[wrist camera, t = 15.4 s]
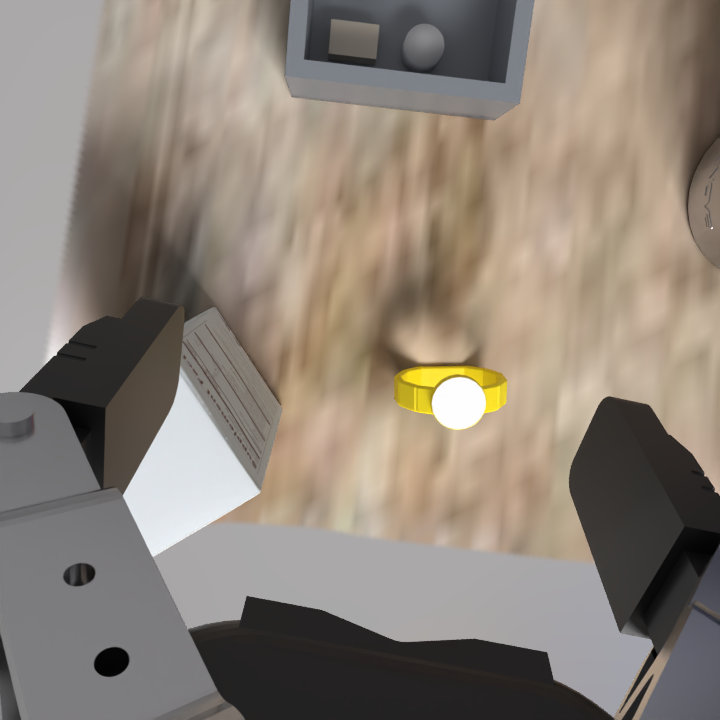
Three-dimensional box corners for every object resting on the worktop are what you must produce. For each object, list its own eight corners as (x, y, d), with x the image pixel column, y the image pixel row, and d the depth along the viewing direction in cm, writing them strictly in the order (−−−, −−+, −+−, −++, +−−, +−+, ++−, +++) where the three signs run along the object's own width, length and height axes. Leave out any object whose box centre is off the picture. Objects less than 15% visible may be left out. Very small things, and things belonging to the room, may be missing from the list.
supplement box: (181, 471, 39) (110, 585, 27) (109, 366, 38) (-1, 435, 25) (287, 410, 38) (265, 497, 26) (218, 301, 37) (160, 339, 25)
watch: (393, 399, 39) (395, 430, 33) (393, 353, 38) (395, 377, 33) (495, 399, 39) (515, 430, 33) (497, 353, 38) (517, 377, 32)
